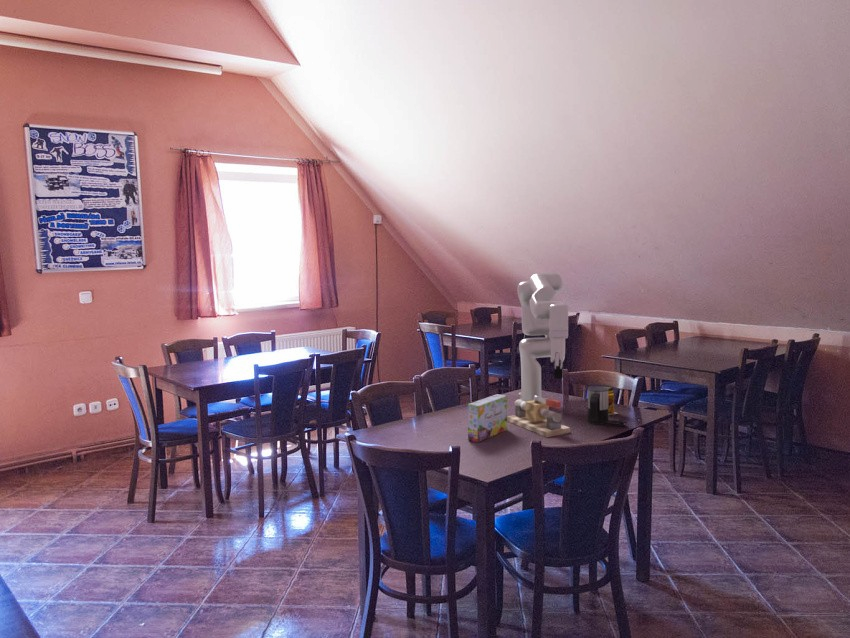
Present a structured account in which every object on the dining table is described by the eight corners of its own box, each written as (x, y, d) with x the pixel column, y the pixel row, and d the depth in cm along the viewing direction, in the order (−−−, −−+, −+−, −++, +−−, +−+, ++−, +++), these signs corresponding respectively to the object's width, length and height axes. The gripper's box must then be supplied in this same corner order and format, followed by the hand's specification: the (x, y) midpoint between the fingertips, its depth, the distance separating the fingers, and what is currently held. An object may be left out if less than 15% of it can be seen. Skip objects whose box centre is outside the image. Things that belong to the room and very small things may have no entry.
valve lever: (532, 401, 270) (532, 395, 269) (537, 400, 271) (537, 394, 271) (556, 408, 257) (556, 402, 257) (561, 407, 259) (561, 401, 258)
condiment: (605, 416, 284) (605, 389, 282) (593, 411, 291) (593, 385, 290) (618, 413, 286) (618, 387, 285) (606, 409, 294) (606, 384, 293)
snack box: (479, 443, 251) (478, 405, 249) (467, 440, 254) (466, 403, 252) (508, 430, 267) (507, 394, 265) (496, 427, 270) (496, 393, 269)
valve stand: (506, 420, 280) (506, 397, 279) (529, 416, 286) (528, 393, 284) (546, 437, 255) (546, 411, 254) (570, 432, 261) (570, 407, 259)
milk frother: (586, 418, 280) (586, 385, 278) (623, 419, 277) (623, 386, 276) (588, 428, 266) (588, 393, 265) (627, 428, 263) (628, 393, 262)
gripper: (551, 330, 267) (551, 373, 269) (547, 336, 253) (547, 382, 255) (569, 331, 265) (569, 374, 267) (566, 337, 250) (566, 382, 253)
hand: (558, 378), depth 261 cm, fingers closed
